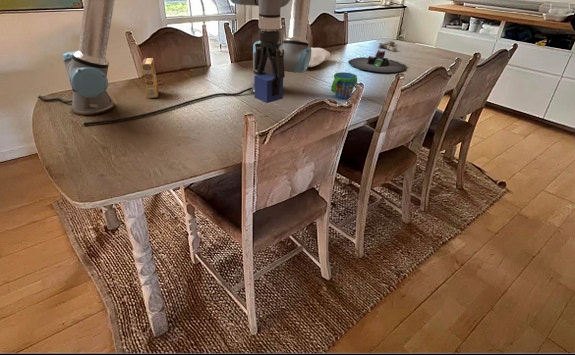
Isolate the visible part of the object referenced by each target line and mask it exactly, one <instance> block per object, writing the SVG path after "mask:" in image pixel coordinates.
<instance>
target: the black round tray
mask: <svg viewBox="0 0 575 355" xmlns="http://www.w3.org/2000/svg"><path fill="white" fill-rule="evenodd" d="M385 55H386V51H385V50H380V49H378V50H377V52H376V53H375V55H374V56H371V55H369V56H368V57H365V56H364V57H362V56H360V57H355V58H351V59H349V60H348V61H347V63H348V64H349V65H350V66H352V67H354V68H356V69H358V70H364V71H369V72H376V73H385V74H386V73H399V72H402V71H404V70H406V68H407V65H406V64H404V63H402V62H401V63H400V62H399V61H395V60H392V59H389V58H388V57H385Z"/></svg>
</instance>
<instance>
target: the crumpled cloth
mask: <svg viewBox="0 0 575 355" xmlns="http://www.w3.org/2000/svg"><path fill="white" fill-rule="evenodd" d="M311 50H312V51H311V59H310V62H309V65H308V68H313V67H317V66H318V65H320V64H322V63H323V62H324V61H325V60H327V59H328V58H330V56H331V52H330V51H328V50H326V49H325V48H322V47H311Z"/></svg>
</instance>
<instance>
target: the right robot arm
mask: <svg viewBox="0 0 575 355" xmlns="http://www.w3.org/2000/svg"><path fill="white" fill-rule="evenodd" d="M230 2H231V3H232V4H235V5H240V6H253V7H255V6H256V7H258V28H259V29H258V41H255V42H254V43H253V45H252V69H253V70H252V77H251V81H250V83H249V87H248V88H246V89H243V90H241V91H239V92H235V93H234V92H231V93H230V92H229V93H228V92H218V93H212V94H209V95H204V96H201V97H198V98H197V97H196V98H194V99H191V100H188V101H187V100H186V101H184V102H180V103H178V104H175V105H171V106H168V107H164V108H160V109H156V110H154V111H153V110H152V111H150V112H146V113H141V114H136V115H131V116H126V117H119V118H112V119H105V120H95V121H85V122H83V126H87V125H88V126H89V125H99V124H100V125H101V124H107V123H114V122H120V121H127V120H132V119H138V118H142V117H146V116H151V115H154V114H155V115H156V114H158V113H162V112H165V111H168V110H172V109H176V108H179V107H182V106H185V105H188V104H190V103H191V104H192V103H195V102H198V101H201V100H205V99H209V98H212V97H217V96H230V97H231V96H239V95H242V94H244V93H247V92H249V91H250V92H251V93H253V94H255V81H254V76H257V75H262V74H266V73H273V74H274V78H273V89H272V96H276V95H279V87H280V79H281V78H283V79H284V78H285V77H286V76H285V75H286V74H285V72H288V73H294V74H297V73H298V74H304V73H305V72H306V71H307V69H308V68H309V67H308V65H309V62H310V59H311V51H312V50H311V48H312V47H311V46H310V45H309V44H310V43H309V41H308V39H307V33H308V24H309V18H310V17H309V15H310V10H311V0H230ZM289 3H290V5H289V16H288V25H287V34H286V37H285V38H284V39H283V40H282V43H280V40H281V31H280V29H281V9H282V8H283V7H286V6H287V5H288V4H289Z"/></svg>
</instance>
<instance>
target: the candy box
mask: <svg viewBox="0 0 575 355" xmlns="http://www.w3.org/2000/svg"><path fill="white" fill-rule="evenodd" d="M141 66H142V73H143V78H144V82H145V87H146V92H147V97H148V99H151V98H153V99H154V98H158V96H159V91H160V90H159V84H158V79H157V73H156V66H155V62H154V58H153V57H151V58H150V57H149V58H146V57H145V58H143V60H142V63H141Z"/></svg>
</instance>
